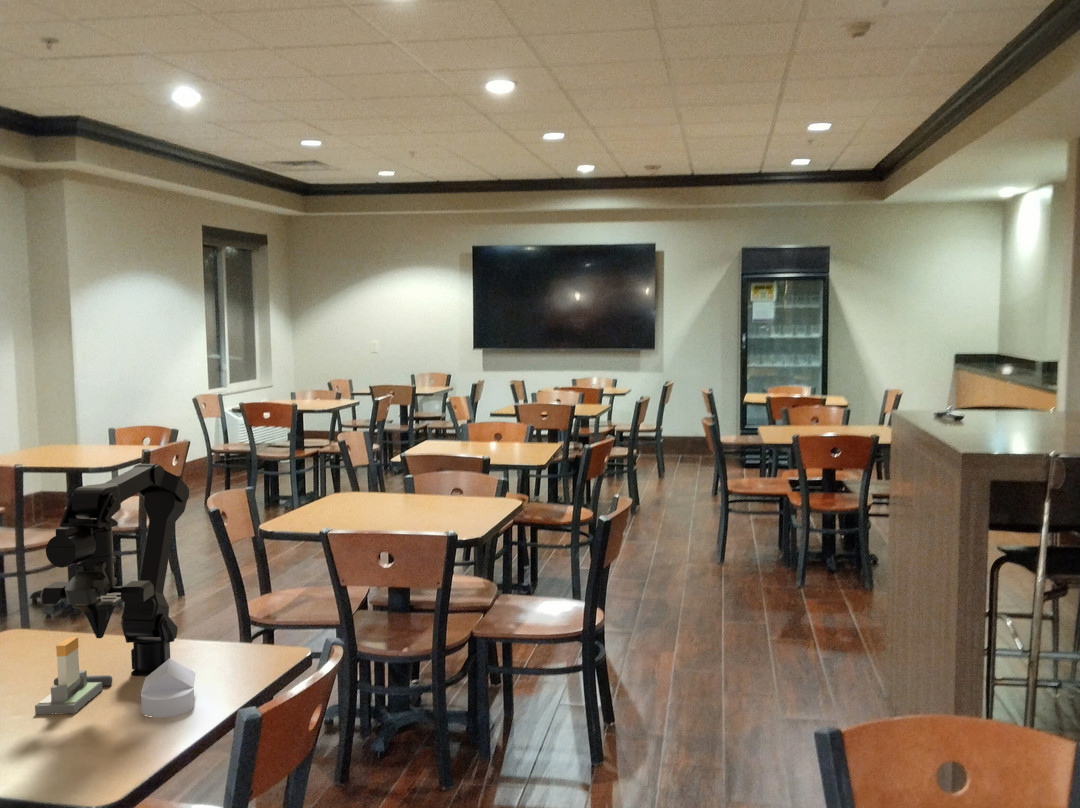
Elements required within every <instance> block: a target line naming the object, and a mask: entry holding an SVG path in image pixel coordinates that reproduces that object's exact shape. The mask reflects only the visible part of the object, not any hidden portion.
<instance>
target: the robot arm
mask: <svg viewBox="0 0 1080 808" xmlns="http://www.w3.org/2000/svg"><path fill="white" fill-rule="evenodd" d="M137 494H138V495H140V497H142V498H143V509H144V511H145V513H146V515H147V518H148V527H147V533H146V538H145V543H144V544H145V545H144V550H143V555H142V563H141V568H140V572H139V573H140V575H139V580H131V581H129V582H128V583H126V584H125V585H121V586H117V583H118V578H117V577H115V569H114V568H115V566H114V565H115V564H114V563H117V557H116V556H114V546H113V528H114V527H117V526H118V525H119V522H118V521H117V520H116V519H115V518H112V517H113V516H114V515H116V514H117V512H119V511H120V510H121V509H122V503H123V502H125V501H126V500H128V499H130V498H131V497H133V496H135V495H137ZM189 498H190V488H189V486H188V485H187V484H186V483H185V481H184V480H182V478H181V477H180V476H177V475H175V474H173V473H171V472H170V471H168V470H165V468H163V466H162V465H159V464H158V463H138V464H137V465H133V467H132V468H131V469H129V470H127V471H125V472H123V473H121V474H120V475H117V476H115V477H113V478H111V479H110V480H108V481H105V482H104V483H99V484H98V483H97V484H87V485H84V486H80V487H79V486H78V487H77V488H75V489H74V490H73V492H72V494H71V496H70V497H69V500H68V503H67V506H66V507H65V511H64V513H63V516H62V519H61V521H60V523H59V528H58V527H57V528H56V529H55V536H53V537H52V538H50V539H49V541H48V543H47V546H46V547H45V555H46V558H47V560H48V562H49V563H50V564H51V565H53V566H54V567H57V568H62V569H63V568H67V567H69V566H72V565H75V564H76V567H75V574H74V576H73V577H71V579H70V580H69V581H55V582H53V583H51V584H49V585H48V586H45V587H44V588H43V589H42V590H41V592H40V597H39V598H40V604H41V605H58V603H60V602H61V601H62V600H63V599H64V598H66V600H67V604H68V605H70V606H72V607H73V608H74V609H78V610H80V611H81V612H82V613H83V614H84V615H85V617H86V619H87V620H88V623H89V624H90V625H89V626H90V627H91V630H92V631H93V634H94V636H95V638H96V639H102V638H104V635H105V633H106V632H107V631H106V630H107V628H108V625H109V622H110V619H111V617H112V614H113V613H114V611H115V608H116V607H117V605H118V604H120V603H121V602H122V601H123V602H124V604H123V613H122V614H121V618H120V619H121V625H120V626H121V629H122V634H123V636H124V640H125V643H127V644H130V643H131V644H132V645H133V647H132V649H131V650H130V653H131V654H130V659H131V660H130V661H131V670H132V671H131V672H130V675H131V676H148V675H150V674H151V673H152V672H153V671H155V670H156V669H157V668H158V667H159V666H161V665H162V664H163V663H164V662H166V661H167V660H168V659H169V658H171V643H174V642H175V639H177V635H178V626H177V625H176V623H175V622H174V621H173V620H172V619H171V618H170V615H169V614H170V606H169V604H168V602H167V599H166V597H165V595H164V590H165V583H166V579H167V578H166V577H167V571H168V564H169V557H170V553H171V545H172V539H173V535H174V534H173V533H174V527H175V523H176V522H177V521H178V520H179V518H181V516H182V515H183V514H184V512H185V511H186V506H187V502H188V500H189ZM115 585H116V586H115Z"/></svg>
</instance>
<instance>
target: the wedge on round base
mask: <svg viewBox="0 0 1080 808" xmlns="http://www.w3.org/2000/svg"><path fill="white" fill-rule="evenodd" d="M195 681H196V672H195V671H193V670H192V669H190V668H188V667H186V666H184V665H183V664H181V663H179V662H178V661H176V660H174V659H172V658H171V657H170V658H169V659H168V660H167V661H166V662H164V663H163V664H162V665H161V666H159V667H158V668H157V669H156V670H155V671H153V672H152V673H151V674H150V675H146V677H144V681H143V685H142V688H141V693H140V701H141V702H140V704H141V714H142V713H143V714H144V715H147V716H152V717H166V718H172V717H175V716H176V717H177V716H181V715H184V714H186V713H188V712H190V711H191V710H193V709H194V707H195V688H194V687H195ZM192 708H193V709H192ZM143 714H142V715H143ZM144 715H143V716H144ZM147 716H146V717H147Z"/></svg>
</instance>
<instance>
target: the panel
mask: <svg viewBox="0 0 1080 808" xmlns="http://www.w3.org/2000/svg"><path fill="white" fill-rule="evenodd" d="M87 673H88V672H87V670H86V669H85V670H80V669H79V677H80V678H81V684H80V685H79V686H78V687H76V688H75V689H74V690H73V691H71V692H70V693H69V694H68V693H67V685H54V684H53V685H52V686H51V687H50V693H49V694H48V695H46V697H44V698H43V699H42V700H40V701H39V702H38V703H36V704H35V705H34V711H35V712H34V713H35V714H39V715H60V714H59V713H75V712H76V711H77V712H79V711H80V710H81V709H82V708H83V707H85V706H86V705H87V704H88V703H89V702H91V701H92V700H93V699H94V698H95V697H97V696H98V695H99V694H100V693H101V692H102V691H103V690H104V689H103V687H104V686H102V682H87V676H88V674H87ZM100 691H101V692H100ZM99 692H100V693H99ZM98 693H99V694H98ZM93 697H94V698H93ZM92 698H93V699H92ZM91 699H92V700H91ZM88 701H89V702H88ZM87 702H88V703H87ZM86 703H87V704H86ZM85 704H86V705H85ZM81 707H82V708H81ZM80 708H81V709H80ZM79 709H80V710H79ZM78 710H79V711H78ZM77 712H76V713H77ZM52 713H53V714H52ZM55 713H57V714H55ZM76 713H75V714H76Z"/></svg>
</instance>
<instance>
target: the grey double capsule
mask: <svg viewBox="0 0 1080 808" xmlns="http://www.w3.org/2000/svg"><path fill="white" fill-rule="evenodd" d="M87 682H102V687H111V686H112V684H113V677H112V676H111V675H108V674H107V675H106V674H105V675H92V674H91V675H87ZM54 685H58V676H57V677H55V678H54V679H53V686H54ZM110 685H111V686H110Z"/></svg>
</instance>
